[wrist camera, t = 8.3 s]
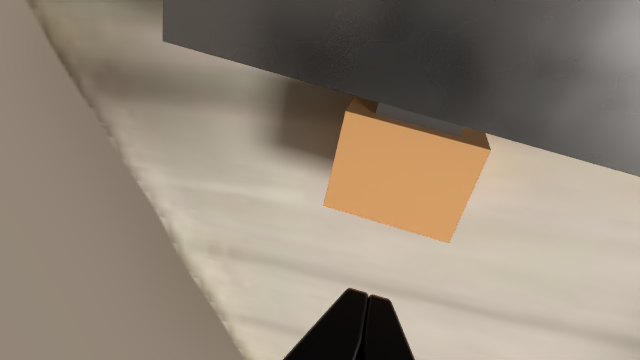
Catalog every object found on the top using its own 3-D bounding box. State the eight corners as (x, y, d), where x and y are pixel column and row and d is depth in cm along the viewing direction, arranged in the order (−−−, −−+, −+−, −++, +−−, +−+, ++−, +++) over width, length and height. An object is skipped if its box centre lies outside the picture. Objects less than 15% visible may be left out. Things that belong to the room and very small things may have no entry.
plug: (574, -122, 13) (626, -153, 10) (445, 192, 19) (449, 243, 16) (420, -151, 14) (416, -190, 10) (342, 163, 20) (323, 205, 16)
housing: (718, -17, 13) (901, -5, 8) (628, 123, 16) (724, 200, 11) (257, -125, 15) (165, -171, 10) (242, 18, 17) (162, 41, 12)
